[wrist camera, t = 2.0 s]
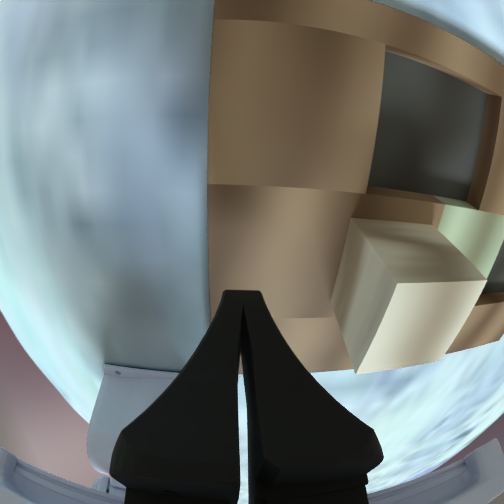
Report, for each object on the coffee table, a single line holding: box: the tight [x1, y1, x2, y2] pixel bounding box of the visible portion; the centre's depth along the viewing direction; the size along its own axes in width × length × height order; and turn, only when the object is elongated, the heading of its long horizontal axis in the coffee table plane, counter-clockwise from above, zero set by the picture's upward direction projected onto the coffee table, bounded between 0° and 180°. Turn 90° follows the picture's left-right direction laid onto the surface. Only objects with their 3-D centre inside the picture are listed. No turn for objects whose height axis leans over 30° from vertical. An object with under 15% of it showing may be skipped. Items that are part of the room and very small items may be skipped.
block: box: [330, 218, 487, 374], centre depth 12 cm, size 5×5×5 cm
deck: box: [207, 0, 504, 374], centre depth 14 cm, size 28×22×2 cm
